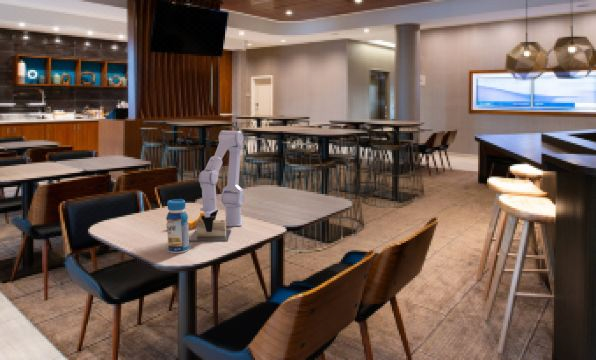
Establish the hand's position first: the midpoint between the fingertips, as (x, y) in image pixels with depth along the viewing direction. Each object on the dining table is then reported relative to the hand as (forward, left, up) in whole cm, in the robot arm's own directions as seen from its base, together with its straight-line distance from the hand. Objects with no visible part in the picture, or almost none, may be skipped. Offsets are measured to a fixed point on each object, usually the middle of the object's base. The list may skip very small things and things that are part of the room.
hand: (210, 229), depth 192 cm
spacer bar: (0, 0, -3) cm, 3 cm away
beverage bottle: (+17, -10, -3) cm, 20 cm away
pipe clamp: (-15, -11, -4) cm, 19 cm away
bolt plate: (0, 0, -3) cm, 3 cm away
